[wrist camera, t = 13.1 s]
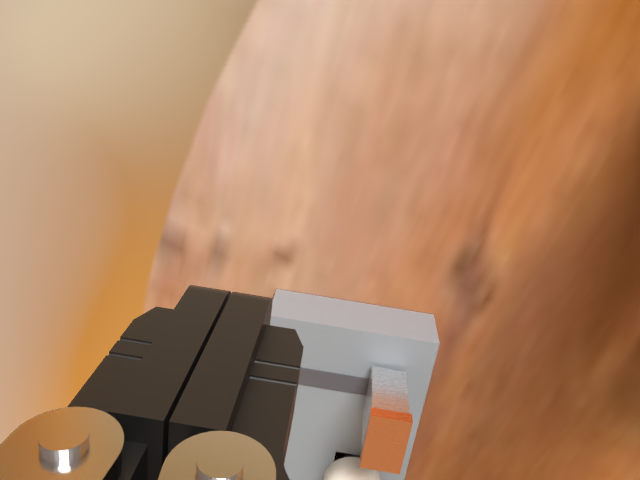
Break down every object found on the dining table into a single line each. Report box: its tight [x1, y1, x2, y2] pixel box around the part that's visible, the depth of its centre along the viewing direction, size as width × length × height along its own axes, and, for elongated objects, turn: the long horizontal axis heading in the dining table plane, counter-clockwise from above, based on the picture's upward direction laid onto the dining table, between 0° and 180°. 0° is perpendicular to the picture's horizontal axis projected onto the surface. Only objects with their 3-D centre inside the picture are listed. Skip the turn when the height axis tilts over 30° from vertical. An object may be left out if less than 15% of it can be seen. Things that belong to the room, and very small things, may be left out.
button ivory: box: [324, 453, 382, 480], centre depth 43 cm, size 4×4×6 cm
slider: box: [360, 366, 413, 474], centre depth 38 cm, size 3×4×5 cm, turn 171°
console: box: [270, 289, 440, 480], centre depth 45 cm, size 12×24×4 cm, turn 171°
